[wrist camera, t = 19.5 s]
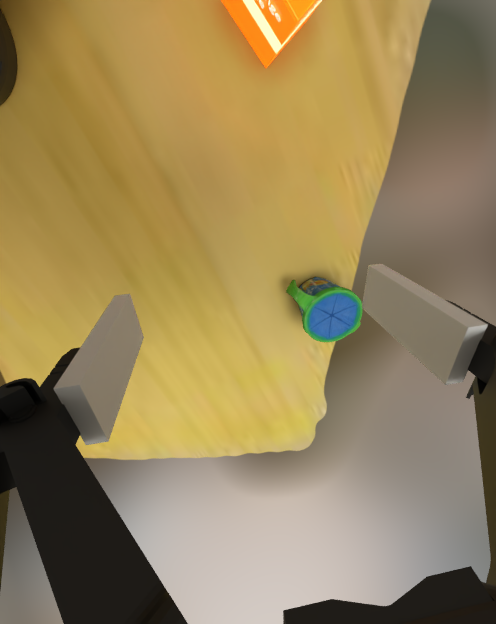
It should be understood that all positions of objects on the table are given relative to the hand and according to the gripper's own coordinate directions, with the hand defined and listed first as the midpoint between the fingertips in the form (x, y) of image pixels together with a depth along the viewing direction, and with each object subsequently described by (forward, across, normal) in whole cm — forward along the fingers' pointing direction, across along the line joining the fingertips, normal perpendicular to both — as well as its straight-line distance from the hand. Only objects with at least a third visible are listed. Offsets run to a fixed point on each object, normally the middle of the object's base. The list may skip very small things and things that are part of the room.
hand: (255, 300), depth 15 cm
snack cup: (+35, +17, -18) cm, 43 cm away
